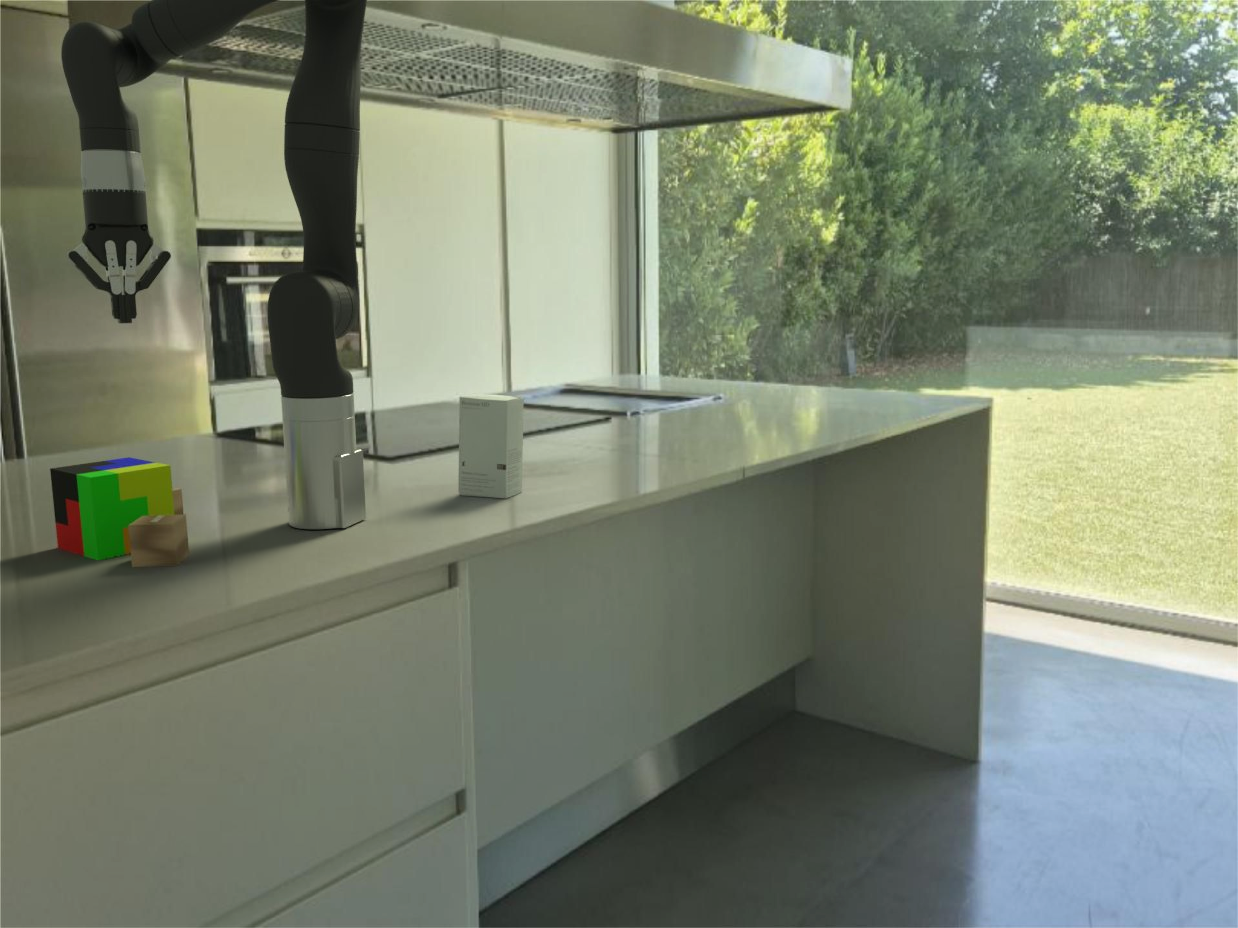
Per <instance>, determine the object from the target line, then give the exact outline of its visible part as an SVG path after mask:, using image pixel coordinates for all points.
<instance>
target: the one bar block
mask: <svg viewBox="0 0 1238 928" xmlns="http://www.w3.org/2000/svg"><path fill="white" fill-rule="evenodd" d="M187 525H188V523H187V514H184V515H153V516H142V517H140V518H139V519H137V520H136V521H134V522H133V523H131V524H130V525H128V528H129V540H130V551H131V554H130V559H131V561H130V562H131V567H132V568H140V567H141V568H142V567H144V568H146V567H147V568H149V567H172V566H174V567H175V566H178V565H179V564H181V562H182V561H184V560H185V559H186V558H187V557H189V555H190V550H189V537H188V535H189V534H188V526H187Z"/></svg>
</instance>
